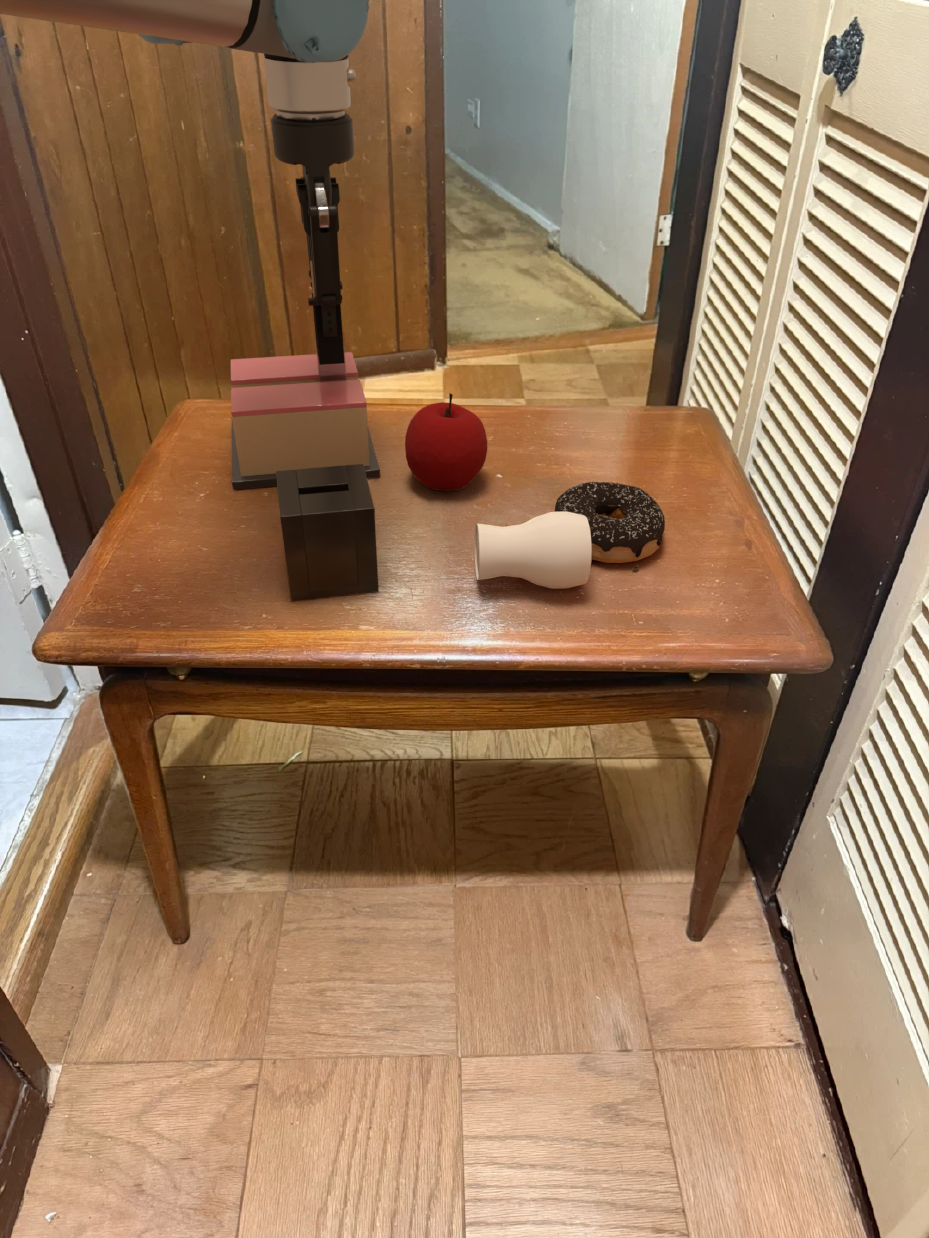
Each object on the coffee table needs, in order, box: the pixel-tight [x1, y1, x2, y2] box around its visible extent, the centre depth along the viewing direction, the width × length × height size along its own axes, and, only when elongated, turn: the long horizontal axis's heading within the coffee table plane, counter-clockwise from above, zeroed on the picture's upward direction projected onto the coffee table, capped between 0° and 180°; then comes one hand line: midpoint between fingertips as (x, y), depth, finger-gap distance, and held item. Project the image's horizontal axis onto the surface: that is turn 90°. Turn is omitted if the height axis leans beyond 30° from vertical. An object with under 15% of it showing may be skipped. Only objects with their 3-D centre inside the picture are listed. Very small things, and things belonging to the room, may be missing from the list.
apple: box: [404, 392, 488, 492], centre depth 93 cm, size 9×9×10 cm
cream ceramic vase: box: [474, 511, 592, 590], centre depth 79 cm, size 7×7×10 cm
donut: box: [553, 481, 666, 564], centre depth 87 cm, size 11×12×4 cm
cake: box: [230, 351, 381, 491], centre depth 98 cm, size 16×16×9 cm
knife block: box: [276, 464, 380, 602], centre depth 79 cm, size 8×8×9 cm
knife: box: [310, 261, 346, 382], centre depth 95 cm, size 3×2×19 cm, turn 102°
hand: (330, 357), depth 95 cm, fingers closed on knife, 2 cm apart
